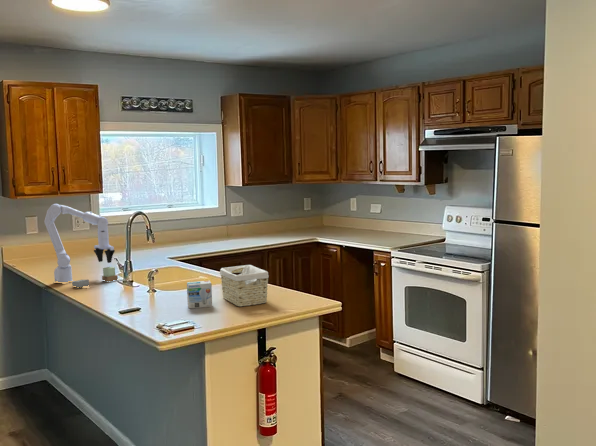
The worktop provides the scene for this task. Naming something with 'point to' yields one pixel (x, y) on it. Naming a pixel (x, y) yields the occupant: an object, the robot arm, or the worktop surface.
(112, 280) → the walnut block
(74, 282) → the slate block
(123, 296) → the worktop surface
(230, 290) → the storage basket
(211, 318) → the worktop surface
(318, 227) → the worktop surface
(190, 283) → the light bulb box
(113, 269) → the sage cube
